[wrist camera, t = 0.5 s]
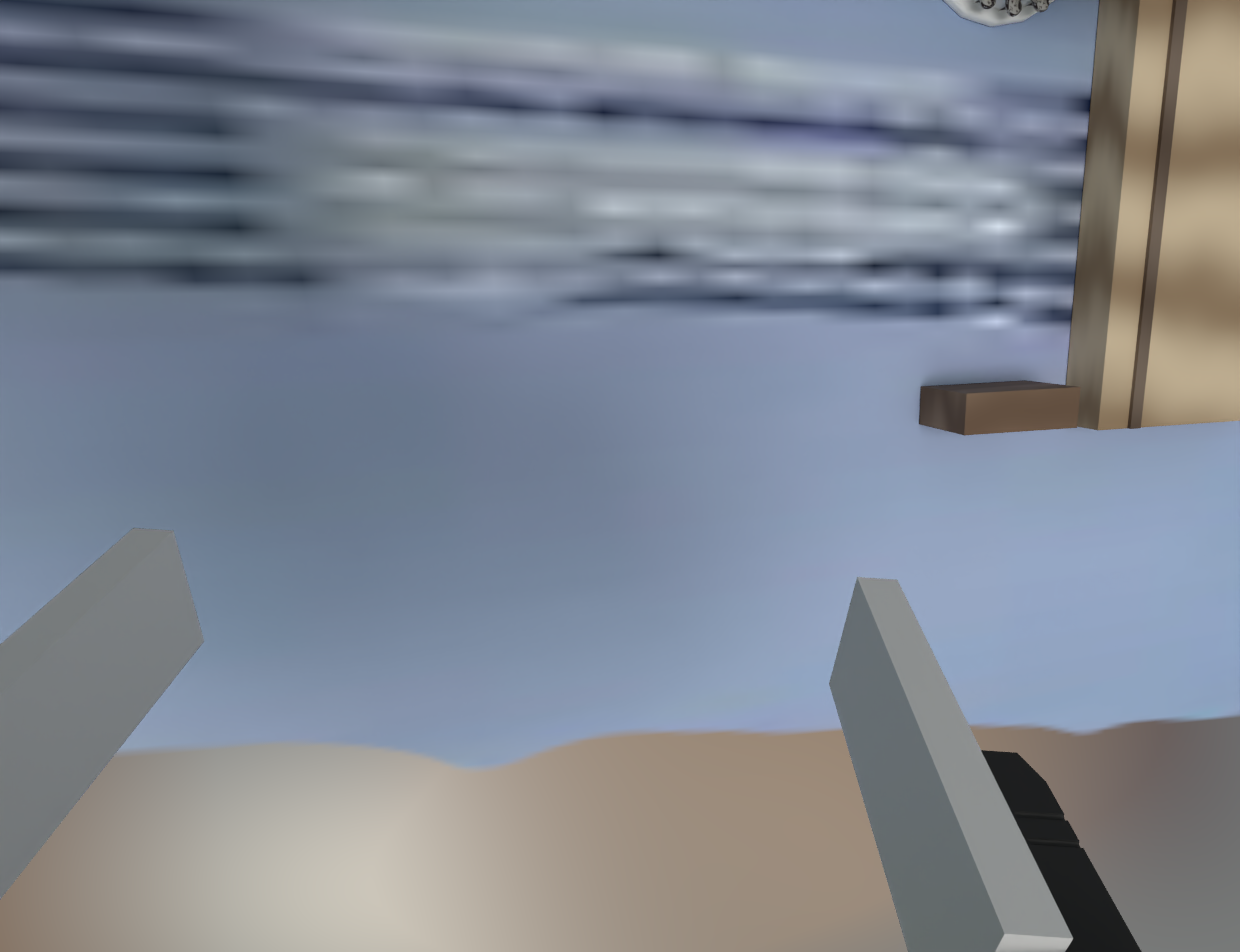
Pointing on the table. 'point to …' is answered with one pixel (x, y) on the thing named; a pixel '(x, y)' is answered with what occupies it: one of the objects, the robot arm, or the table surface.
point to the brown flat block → (999, 407)
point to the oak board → (1160, 219)
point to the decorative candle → (997, 10)
